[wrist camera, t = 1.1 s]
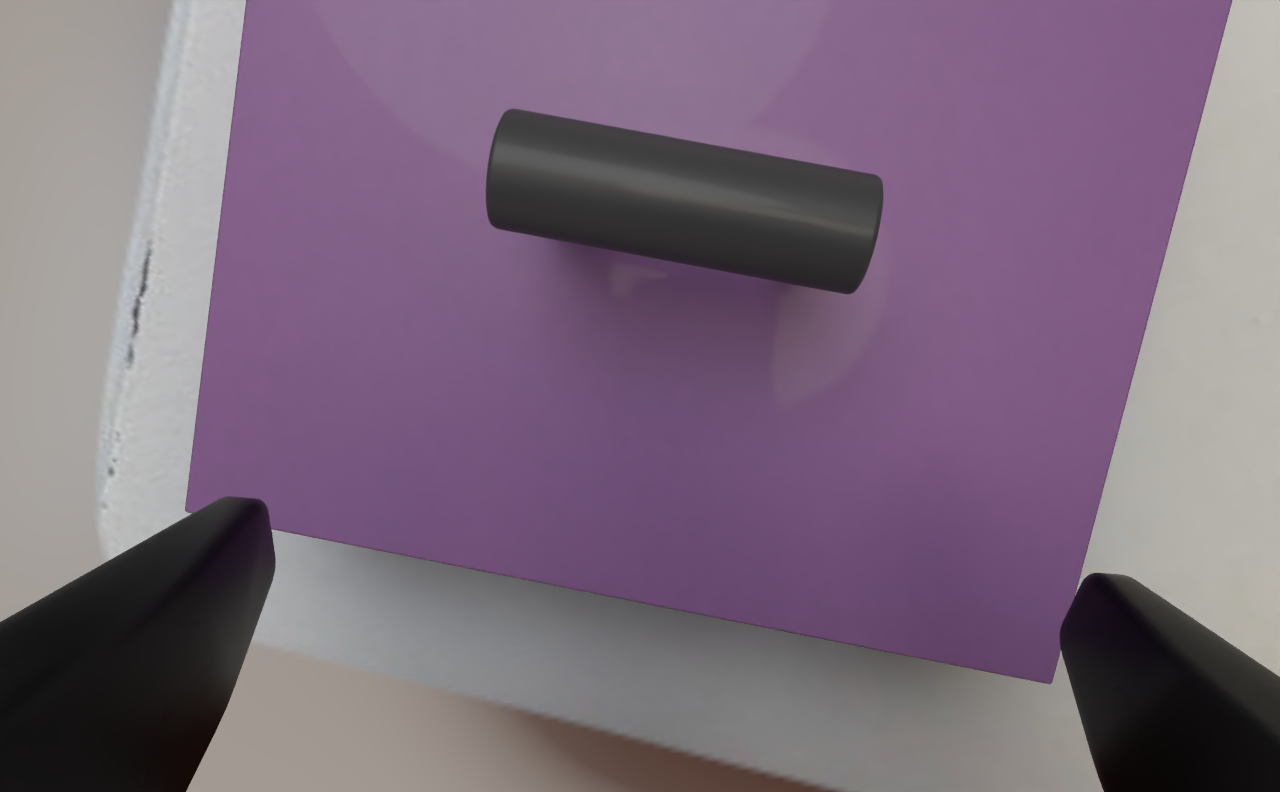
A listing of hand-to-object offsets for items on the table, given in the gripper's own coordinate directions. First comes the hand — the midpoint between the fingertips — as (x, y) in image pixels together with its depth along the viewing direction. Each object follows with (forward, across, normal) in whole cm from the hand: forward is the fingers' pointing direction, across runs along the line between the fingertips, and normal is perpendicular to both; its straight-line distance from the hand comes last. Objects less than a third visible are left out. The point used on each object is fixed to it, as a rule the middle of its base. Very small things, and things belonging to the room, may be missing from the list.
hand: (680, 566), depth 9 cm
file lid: (+8, 0, -1) cm, 8 cm away
